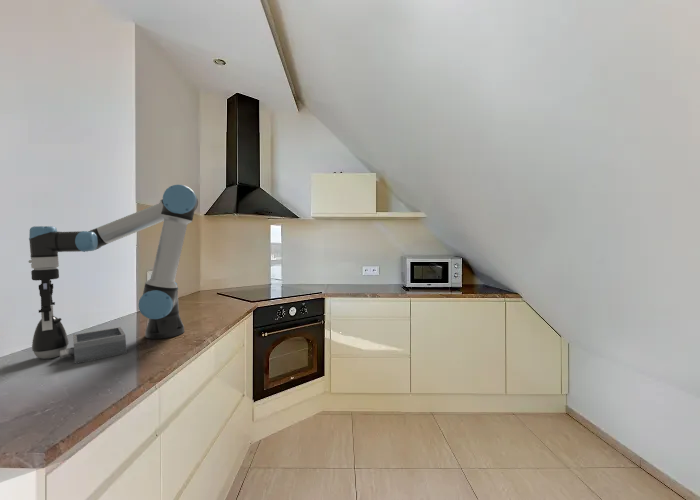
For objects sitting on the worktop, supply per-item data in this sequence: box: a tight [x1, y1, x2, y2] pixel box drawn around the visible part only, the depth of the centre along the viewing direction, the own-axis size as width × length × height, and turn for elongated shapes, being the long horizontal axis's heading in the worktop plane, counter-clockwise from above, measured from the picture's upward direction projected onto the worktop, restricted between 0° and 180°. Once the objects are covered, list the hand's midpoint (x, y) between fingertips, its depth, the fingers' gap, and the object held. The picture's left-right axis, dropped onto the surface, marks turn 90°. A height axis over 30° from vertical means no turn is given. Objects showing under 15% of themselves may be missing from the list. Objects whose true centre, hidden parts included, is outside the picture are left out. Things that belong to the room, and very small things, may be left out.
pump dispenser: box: [31, 315, 70, 360], centre depth 127 cm, size 10×10×15 cm
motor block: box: [59, 326, 128, 364], centre depth 128 cm, size 19×15×7 cm
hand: (48, 326), depth 127 cm, fingers open, 13 cm apart
